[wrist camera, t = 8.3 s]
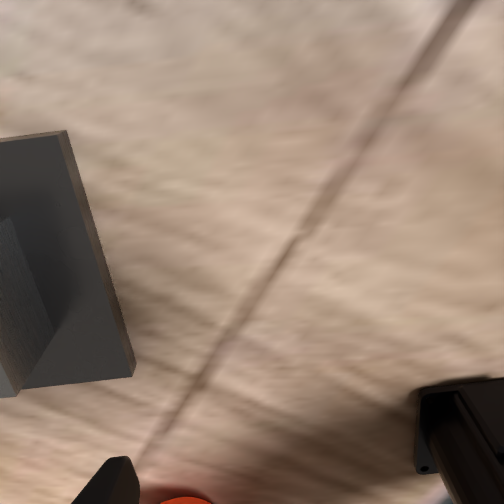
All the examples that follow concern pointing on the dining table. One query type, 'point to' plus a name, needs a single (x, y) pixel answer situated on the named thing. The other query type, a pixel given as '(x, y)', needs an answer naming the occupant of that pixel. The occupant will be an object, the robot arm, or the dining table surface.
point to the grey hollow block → (19, 315)
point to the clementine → (185, 501)
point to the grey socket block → (63, 262)
